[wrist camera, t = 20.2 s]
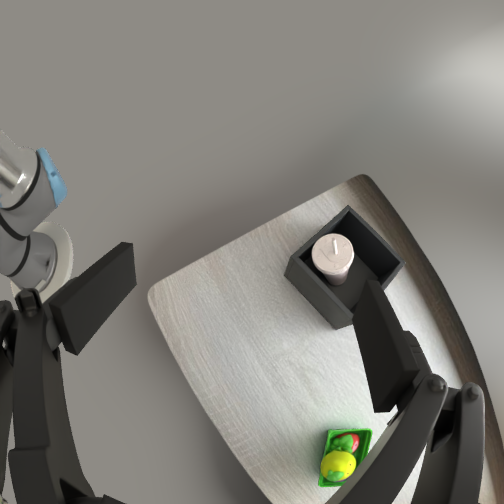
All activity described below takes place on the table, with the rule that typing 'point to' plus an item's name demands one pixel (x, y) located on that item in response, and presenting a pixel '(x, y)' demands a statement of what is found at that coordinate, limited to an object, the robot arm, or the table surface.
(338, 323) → the bin
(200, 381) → the table surface
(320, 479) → the fruit basket
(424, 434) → the robot arm
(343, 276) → the smoothie
